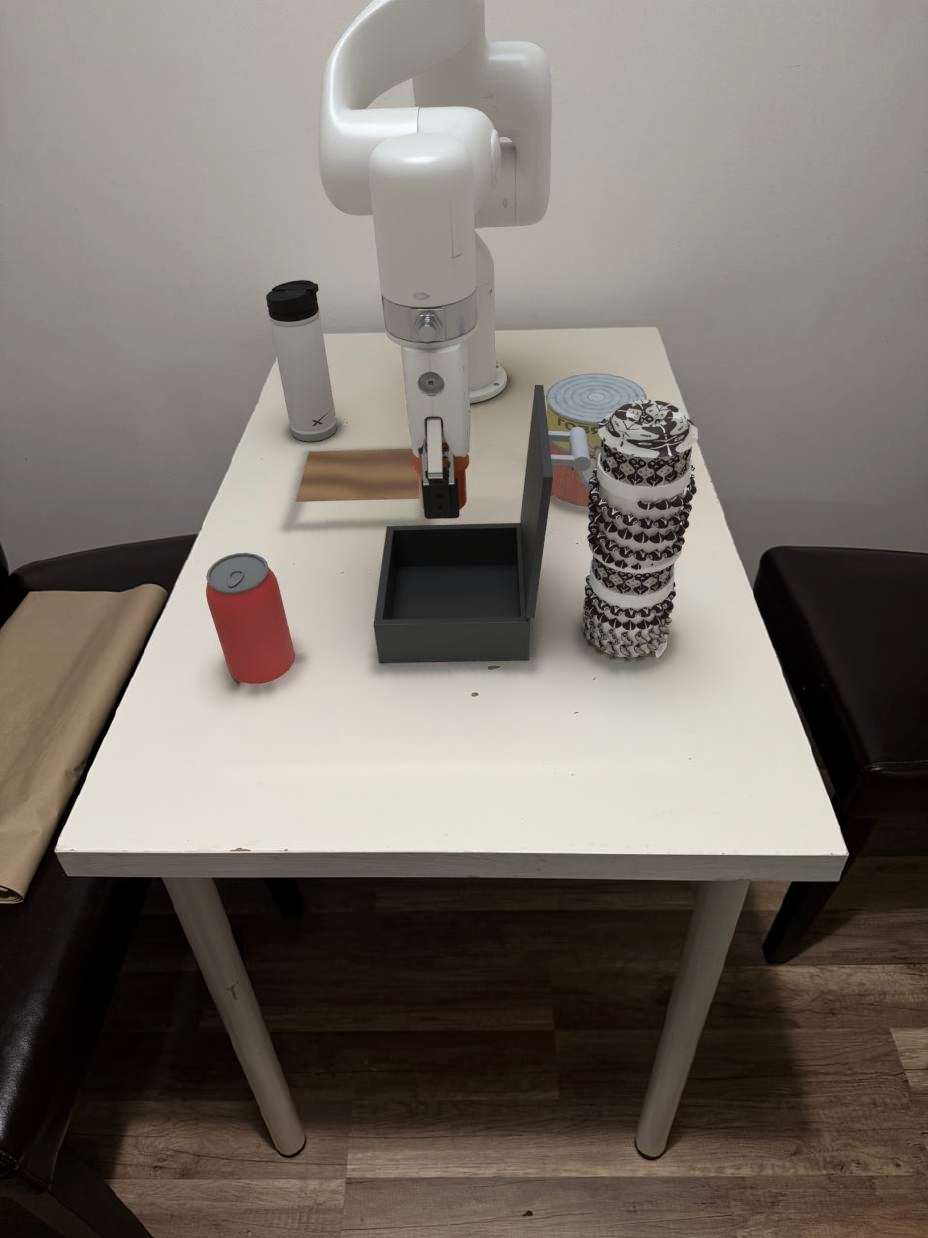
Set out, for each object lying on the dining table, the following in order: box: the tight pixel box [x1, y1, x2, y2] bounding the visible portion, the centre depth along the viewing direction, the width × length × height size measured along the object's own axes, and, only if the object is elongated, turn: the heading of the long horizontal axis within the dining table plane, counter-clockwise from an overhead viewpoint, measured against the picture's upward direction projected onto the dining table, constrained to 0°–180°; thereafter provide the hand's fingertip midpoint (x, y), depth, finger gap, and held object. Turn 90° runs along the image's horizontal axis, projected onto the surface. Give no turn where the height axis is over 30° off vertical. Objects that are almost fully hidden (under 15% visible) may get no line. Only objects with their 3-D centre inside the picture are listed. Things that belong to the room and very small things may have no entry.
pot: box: [412, 444, 471, 510], centre depth 82 cm, size 5×5×5 cm
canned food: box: [545, 372, 648, 508], centre depth 105 cm, size 11×11×12 cm
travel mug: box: [265, 279, 338, 442], centre depth 115 cm, size 6×7×20 cm
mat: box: [295, 448, 420, 503], centre depth 111 cm, size 16×16×1 cm
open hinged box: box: [373, 522, 531, 664], centre depth 91 cm, size 15×16×6 cm
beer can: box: [205, 552, 296, 685], centre depth 84 cm, size 7×7×12 cm
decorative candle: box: [581, 398, 699, 660], centre depth 81 cm, size 9×9×25 cm
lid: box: [519, 384, 591, 619], centre depth 83 cm, size 16×16×5 cm
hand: (443, 496), depth 83 cm, fingers closed on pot, 5 cm apart
